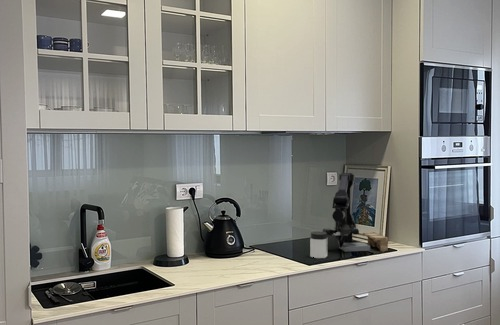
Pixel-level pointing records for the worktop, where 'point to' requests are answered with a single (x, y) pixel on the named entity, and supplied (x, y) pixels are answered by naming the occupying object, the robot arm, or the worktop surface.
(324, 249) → the jar
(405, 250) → the worktop surface
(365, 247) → the slate board
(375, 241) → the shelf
